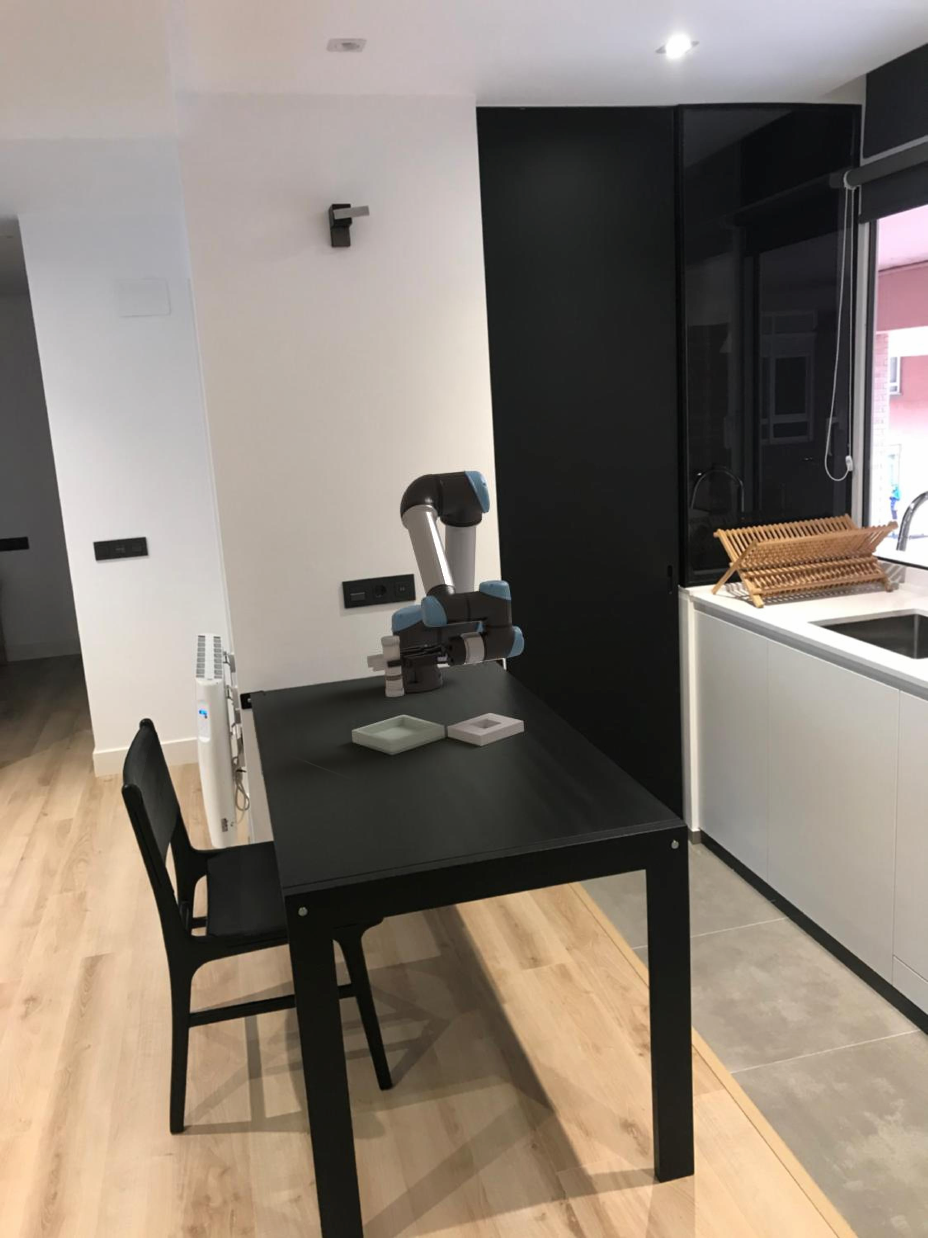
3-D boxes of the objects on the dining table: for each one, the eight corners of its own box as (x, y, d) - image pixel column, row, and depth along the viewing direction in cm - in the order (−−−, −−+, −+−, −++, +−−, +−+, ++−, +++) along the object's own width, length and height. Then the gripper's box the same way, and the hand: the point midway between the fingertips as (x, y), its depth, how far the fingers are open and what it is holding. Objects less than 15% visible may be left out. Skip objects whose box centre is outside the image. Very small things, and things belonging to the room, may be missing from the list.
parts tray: (404, 725, 255) (403, 714, 254) (445, 737, 243) (444, 725, 242) (352, 742, 245) (351, 730, 244) (392, 755, 233) (391, 742, 232)
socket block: (490, 722, 253) (489, 712, 252) (524, 731, 244) (523, 721, 243) (448, 736, 244) (447, 726, 243) (481, 746, 235) (480, 735, 234)
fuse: (396, 690, 245) (391, 634, 242) (407, 693, 242) (403, 636, 239) (382, 695, 242) (377, 638, 239) (393, 697, 239) (388, 640, 236)
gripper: (476, 671, 239) (382, 686, 231) (451, 657, 255) (362, 671, 247) (473, 640, 238) (379, 655, 230) (449, 628, 253) (359, 642, 245)
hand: (370, 663), depth 238 cm, fingers closed on fuse, 4 cm apart
